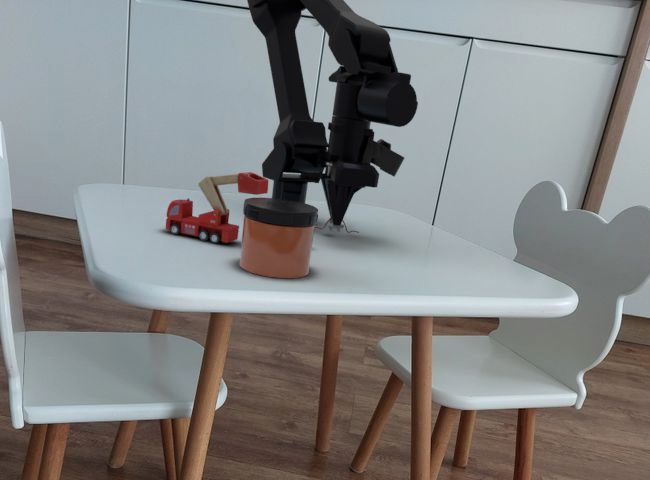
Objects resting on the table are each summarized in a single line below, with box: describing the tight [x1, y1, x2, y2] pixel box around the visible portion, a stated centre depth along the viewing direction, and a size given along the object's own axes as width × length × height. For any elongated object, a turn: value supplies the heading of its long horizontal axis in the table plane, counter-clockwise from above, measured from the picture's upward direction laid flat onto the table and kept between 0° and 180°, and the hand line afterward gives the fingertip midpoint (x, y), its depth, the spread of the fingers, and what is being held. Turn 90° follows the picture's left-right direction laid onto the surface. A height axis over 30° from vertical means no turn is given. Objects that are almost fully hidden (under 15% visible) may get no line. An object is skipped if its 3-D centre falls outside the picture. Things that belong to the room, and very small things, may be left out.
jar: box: [239, 214, 316, 279], centre depth 81 cm, size 8×8×7 cm
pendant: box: [314, 217, 360, 234], centre depth 107 cm, size 8×4×3 cm, turn 85°
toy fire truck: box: [165, 171, 269, 244], centre depth 91 cm, size 3×14×10 cm, turn 68°
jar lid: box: [242, 197, 319, 226], centre depth 80 cm, size 9×9×2 cm
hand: (335, 224), depth 105 cm, fingers closed on pendant
